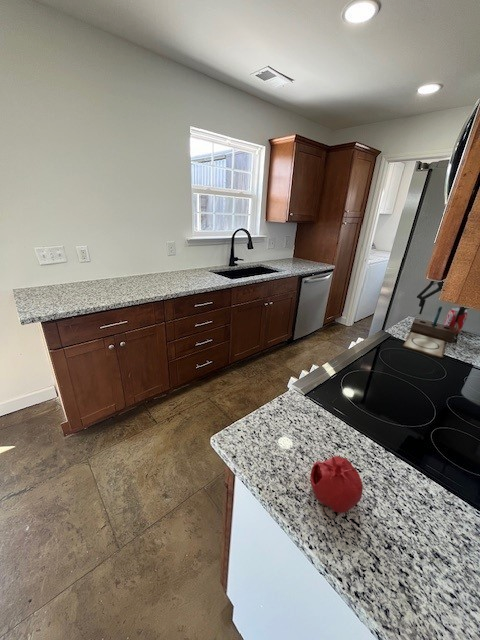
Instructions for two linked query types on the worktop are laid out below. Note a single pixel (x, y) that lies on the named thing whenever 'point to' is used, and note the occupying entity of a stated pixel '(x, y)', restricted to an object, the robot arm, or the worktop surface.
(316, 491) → the pomegranate
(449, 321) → the soda can
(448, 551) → the worktop surface
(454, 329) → the pen holder
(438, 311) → the pen
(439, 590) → the worktop surface
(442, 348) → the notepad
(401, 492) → the worktop surface
